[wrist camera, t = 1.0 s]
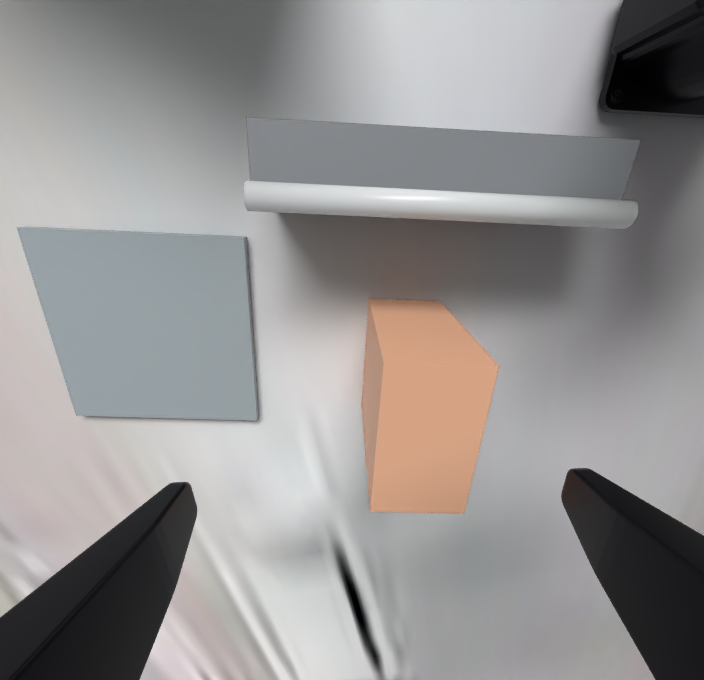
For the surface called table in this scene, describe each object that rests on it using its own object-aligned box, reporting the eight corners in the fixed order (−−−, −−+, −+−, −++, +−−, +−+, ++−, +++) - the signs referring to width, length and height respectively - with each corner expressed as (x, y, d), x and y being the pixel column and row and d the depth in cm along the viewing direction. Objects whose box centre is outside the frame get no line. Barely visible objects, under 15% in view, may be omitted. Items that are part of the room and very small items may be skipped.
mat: (246, 236, 18) (243, 237, 17) (258, 415, 22) (257, 420, 21) (25, 226, 17) (16, 227, 17) (81, 410, 21) (76, 415, 21)
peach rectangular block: (440, 300, 19) (499, 365, 12) (423, 406, 22) (464, 513, 15) (368, 297, 19) (383, 362, 12) (361, 404, 22) (370, 511, 14)
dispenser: (566, 154, 16) (665, 134, 11) (549, 220, 18) (632, 230, 12) (272, 137, 16) (238, 110, 11) (274, 207, 17) (244, 211, 12)
